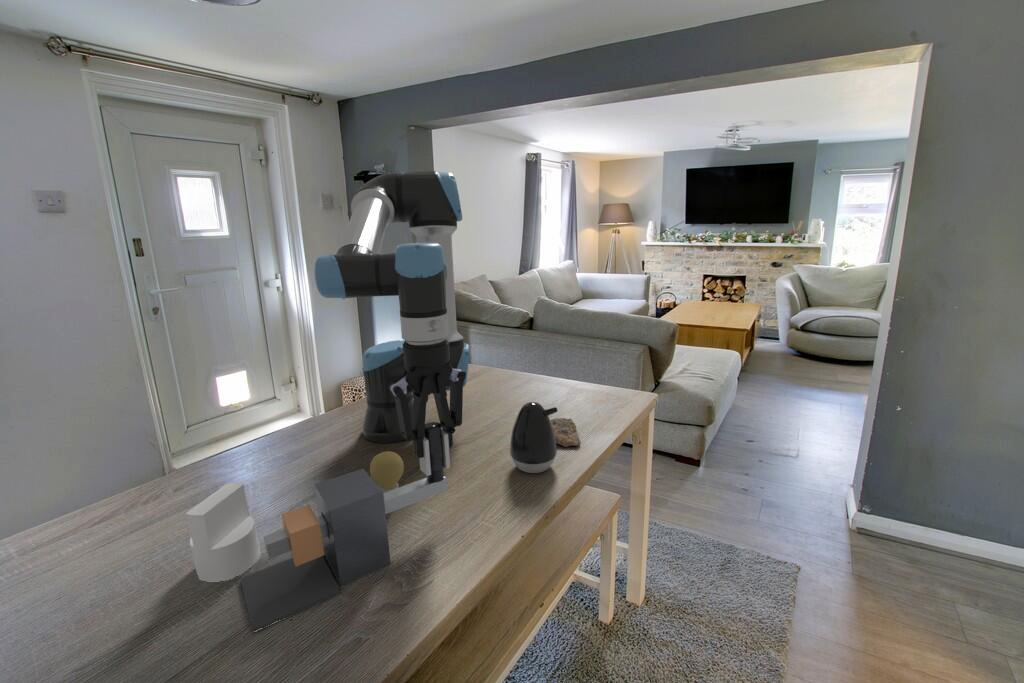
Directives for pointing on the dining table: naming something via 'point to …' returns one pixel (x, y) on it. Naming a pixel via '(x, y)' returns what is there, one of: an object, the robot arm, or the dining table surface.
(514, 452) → the pump dispenser
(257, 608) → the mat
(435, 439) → the shaft
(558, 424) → the rock
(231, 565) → the cylinder with rectangular tab
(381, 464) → the light bulb
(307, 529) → the tan wooden block
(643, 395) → the dining table surface
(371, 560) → the bearing block
